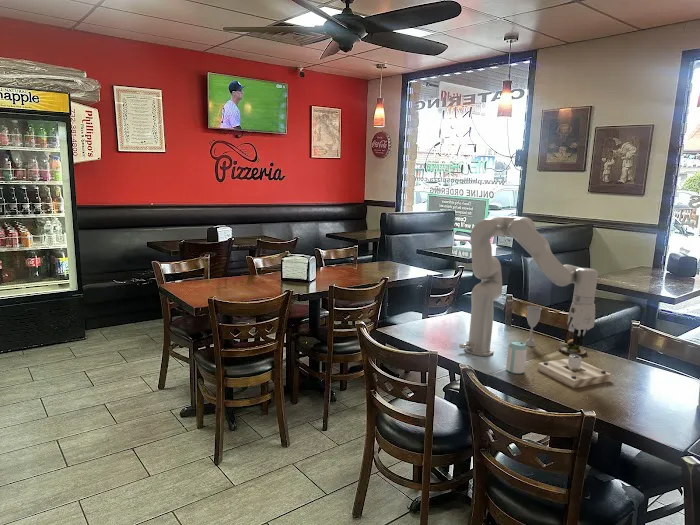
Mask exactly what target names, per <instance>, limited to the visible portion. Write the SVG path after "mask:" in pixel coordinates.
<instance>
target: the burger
mask: <svg viewBox="0 0 700 525" xmlns="http://www.w3.org/2000/svg"><path fill="white" fill-rule="evenodd" d="M573 337H574V334H572V339H569V340H567V343H565V344H561V345H558V352H560V353H561V352H564V353H567V354H569V355H578V356H581V355H584V354H585V355H587V354H588V351H587V350H586V349H585V348H583V347H581V346H578V345H575V344H573Z"/></svg>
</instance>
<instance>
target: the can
mask: <svg viewBox="0 0 700 525" xmlns="http://www.w3.org/2000/svg"><path fill="white" fill-rule="evenodd" d="M507 347H508V348H507V356H506V367H505V369H506V370H507V371H508V372H509V373H511V374H514V375H515V374H516V375H521V374H523V373H524V372H525V368H526V361H527V360H526V358H527V352H528V351H527V350H528V347H527V345H526V344H525V341H524V342H523V341H521V340H511V341H510V343H509V344H508V346H507Z"/></svg>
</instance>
